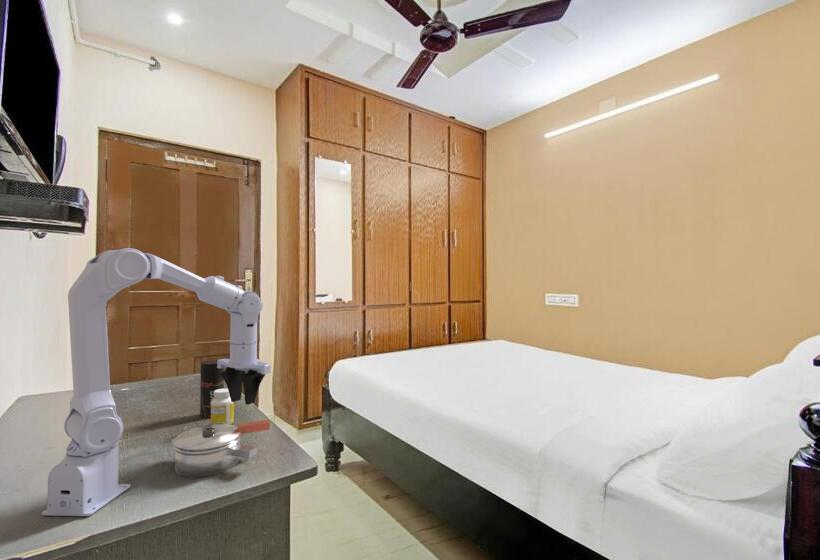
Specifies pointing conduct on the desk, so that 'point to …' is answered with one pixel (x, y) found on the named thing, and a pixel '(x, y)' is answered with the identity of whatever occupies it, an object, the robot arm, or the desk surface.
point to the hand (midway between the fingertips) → (243, 402)
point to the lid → (216, 435)
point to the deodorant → (209, 385)
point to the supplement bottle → (222, 408)
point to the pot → (210, 459)
